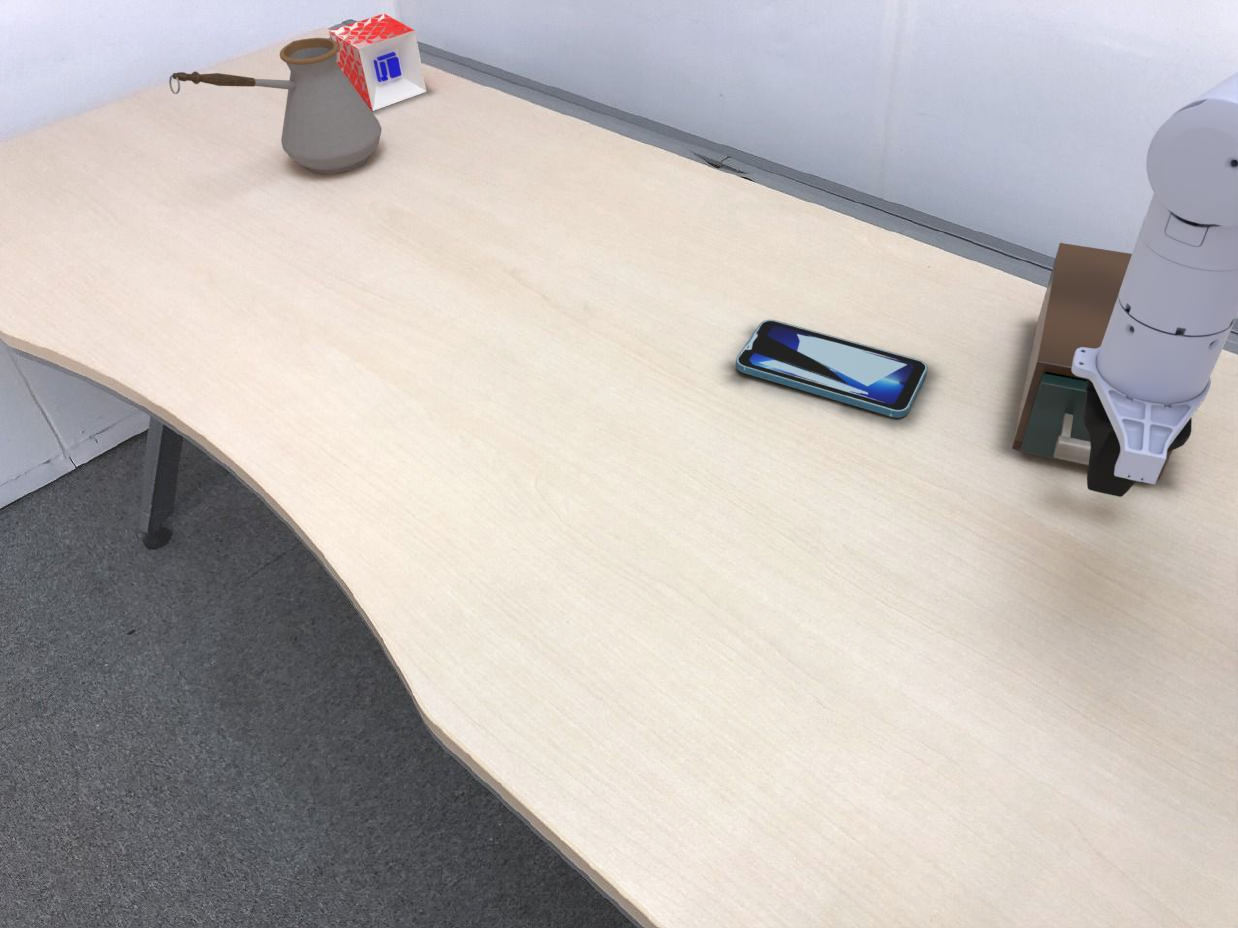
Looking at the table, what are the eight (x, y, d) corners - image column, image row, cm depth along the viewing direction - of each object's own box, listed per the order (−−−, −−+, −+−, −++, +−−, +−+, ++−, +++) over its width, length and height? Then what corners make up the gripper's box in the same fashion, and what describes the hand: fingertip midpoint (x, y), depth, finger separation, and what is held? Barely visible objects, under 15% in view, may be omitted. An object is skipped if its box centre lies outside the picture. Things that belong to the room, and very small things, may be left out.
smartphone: (905, 415, 82) (731, 364, 87) (903, 424, 83) (731, 372, 88) (930, 362, 87) (764, 316, 92) (928, 371, 87) (764, 325, 92)
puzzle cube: (396, 74, 137) (384, 13, 132) (426, 92, 133) (415, 30, 127) (343, 92, 134) (328, 31, 129) (372, 111, 129) (357, 49, 124)
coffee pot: (354, 126, 127) (323, 1, 116) (405, 156, 120) (377, 27, 110) (193, 190, 117) (144, 60, 107) (238, 226, 111) (190, 92, 100)
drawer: (1151, 521, 72) (1183, 451, 68) (1013, 489, 75) (1034, 420, 71) (1161, 356, 85) (1188, 287, 81) (1042, 335, 88) (1062, 267, 84)
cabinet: (1159, 480, 76) (1198, 391, 71) (1011, 448, 80) (1036, 361, 74) (1166, 350, 87) (1200, 264, 81) (1036, 327, 91) (1059, 242, 85)
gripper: (1104, 223, 60) (1049, 400, 70) (1084, 371, 51) (1023, 553, 60) (1238, 243, 58) (1163, 422, 67) (1243, 401, 48) (1154, 584, 58)
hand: (1105, 486), depth 64 cm, fingers closed
